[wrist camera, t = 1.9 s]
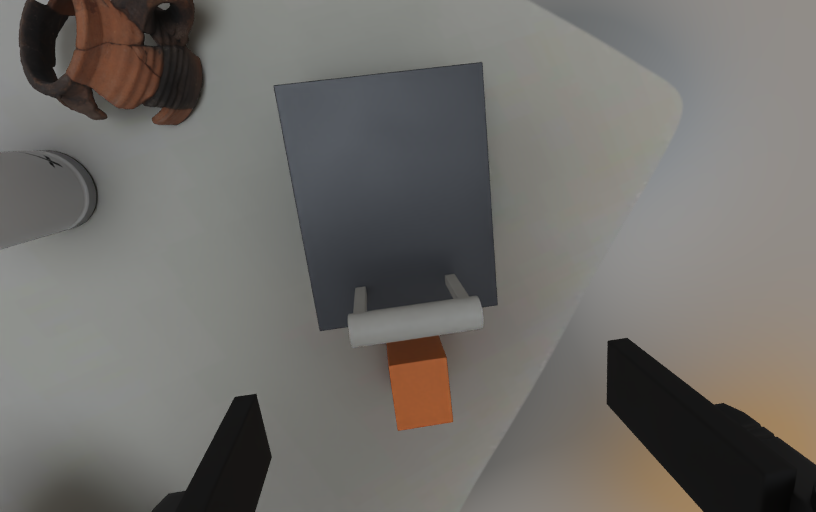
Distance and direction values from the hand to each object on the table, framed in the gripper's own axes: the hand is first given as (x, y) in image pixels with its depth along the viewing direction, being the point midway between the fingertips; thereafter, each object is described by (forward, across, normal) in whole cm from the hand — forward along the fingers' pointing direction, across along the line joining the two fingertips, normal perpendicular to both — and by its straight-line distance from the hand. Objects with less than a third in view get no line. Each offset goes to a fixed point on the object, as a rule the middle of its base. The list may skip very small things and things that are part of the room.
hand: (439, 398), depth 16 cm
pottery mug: (+23, +17, -17) cm, 34 cm away
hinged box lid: (+14, 0, -5) cm, 15 cm away
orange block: (+23, 0, +11) cm, 25 cm away
